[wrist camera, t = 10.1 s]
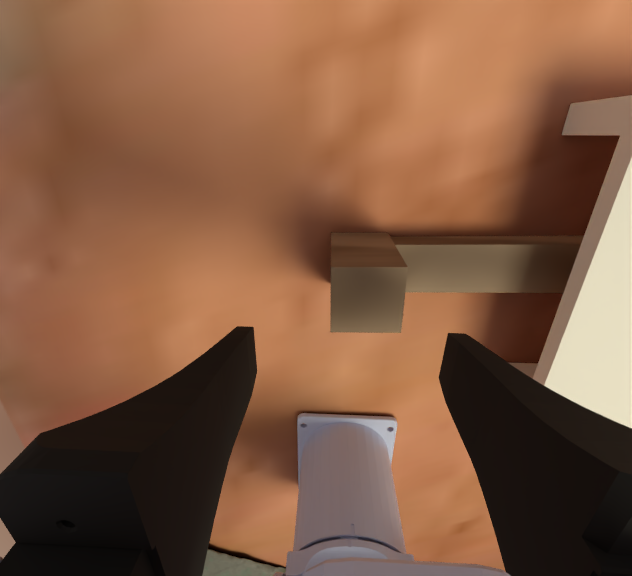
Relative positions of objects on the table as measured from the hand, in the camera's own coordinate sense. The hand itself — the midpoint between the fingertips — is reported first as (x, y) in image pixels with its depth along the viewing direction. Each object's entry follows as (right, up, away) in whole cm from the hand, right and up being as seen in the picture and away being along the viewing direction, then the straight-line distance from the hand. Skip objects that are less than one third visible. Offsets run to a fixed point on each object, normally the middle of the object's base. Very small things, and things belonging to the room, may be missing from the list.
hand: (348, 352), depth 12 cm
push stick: (+8, +4, +9) cm, 13 cm away
